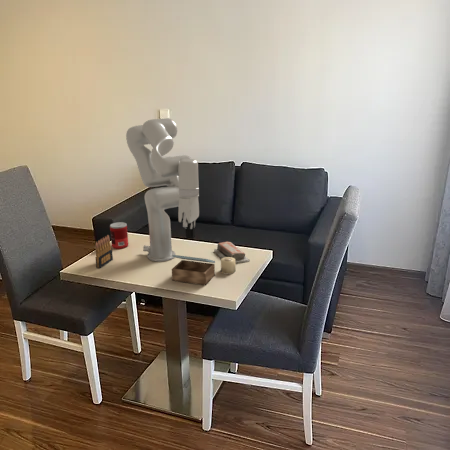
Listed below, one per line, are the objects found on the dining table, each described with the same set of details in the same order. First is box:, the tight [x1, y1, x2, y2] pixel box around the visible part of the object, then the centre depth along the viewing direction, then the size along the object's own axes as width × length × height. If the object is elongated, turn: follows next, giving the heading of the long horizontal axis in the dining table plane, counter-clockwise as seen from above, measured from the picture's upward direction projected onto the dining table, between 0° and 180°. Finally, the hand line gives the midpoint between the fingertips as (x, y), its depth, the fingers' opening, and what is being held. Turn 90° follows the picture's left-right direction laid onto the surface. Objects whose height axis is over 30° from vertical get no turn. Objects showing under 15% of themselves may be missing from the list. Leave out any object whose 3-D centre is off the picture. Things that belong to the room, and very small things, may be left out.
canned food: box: [109, 221, 129, 250], centre depth 227 cm, size 8×8×11 cm
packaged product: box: [213, 241, 251, 265], centre depth 214 cm, size 18×5×10 cm
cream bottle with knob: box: [220, 257, 236, 275], centre depth 198 cm, size 6×6×5 cm
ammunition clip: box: [95, 234, 114, 269], centre depth 206 cm, size 11×2×12 cm, turn 162°
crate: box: [171, 259, 216, 286], centre depth 192 cm, size 14×10×5 cm
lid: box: [173, 254, 216, 264], centre depth 191 cm, size 14×10×1 cm
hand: (190, 237), depth 186 cm, fingers closed
